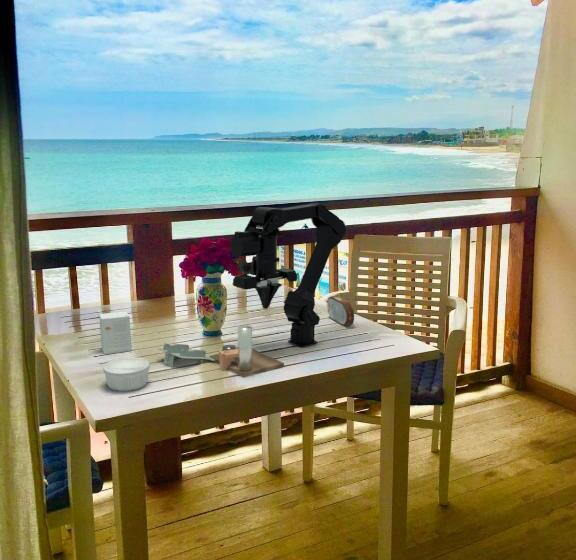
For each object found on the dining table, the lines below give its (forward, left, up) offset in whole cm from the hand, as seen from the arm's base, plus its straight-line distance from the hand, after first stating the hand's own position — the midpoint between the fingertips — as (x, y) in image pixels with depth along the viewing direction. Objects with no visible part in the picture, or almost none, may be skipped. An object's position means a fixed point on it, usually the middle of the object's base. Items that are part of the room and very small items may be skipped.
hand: (265, 308), depth 180 cm
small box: (+33, -28, -13) cm, 45 cm away
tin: (-37, -11, -13) cm, 41 cm away
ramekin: (+41, -1, -13) cm, 43 cm away
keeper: (+13, +5, -13) cm, 19 cm away
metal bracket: (+21, -8, -14) cm, 26 cm away
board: (+9, +4, -13) cm, 16 cm away
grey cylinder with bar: (+12, +4, -12) cm, 17 cm away
